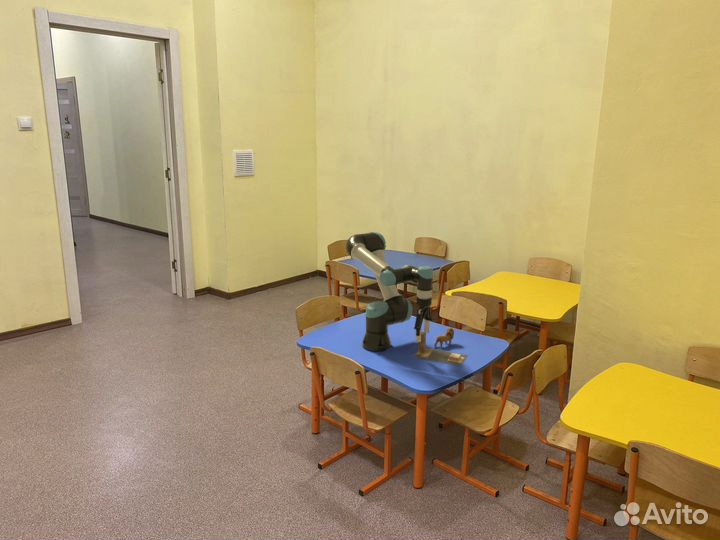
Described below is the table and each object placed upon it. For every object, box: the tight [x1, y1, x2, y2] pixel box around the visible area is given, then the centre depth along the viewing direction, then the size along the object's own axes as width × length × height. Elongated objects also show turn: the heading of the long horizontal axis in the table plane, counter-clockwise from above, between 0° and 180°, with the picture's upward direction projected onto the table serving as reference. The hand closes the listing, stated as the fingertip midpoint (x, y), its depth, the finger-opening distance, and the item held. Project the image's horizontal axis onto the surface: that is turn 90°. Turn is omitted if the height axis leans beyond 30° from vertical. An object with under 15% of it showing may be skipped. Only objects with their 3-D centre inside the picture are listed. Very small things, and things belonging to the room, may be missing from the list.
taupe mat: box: [412, 347, 469, 367], centre depth 271 cm, size 25×14×1 cm, turn 65°
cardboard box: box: [416, 331, 433, 357], centre depth 273 cm, size 6×9×11 cm, turn 155°
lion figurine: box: [433, 327, 455, 350], centre depth 284 cm, size 15×5×9 cm, turn 135°
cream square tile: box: [449, 352, 462, 361], centre depth 268 cm, size 5×5×2 cm
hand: (422, 336), depth 273 cm, fingers open, 13 cm apart
